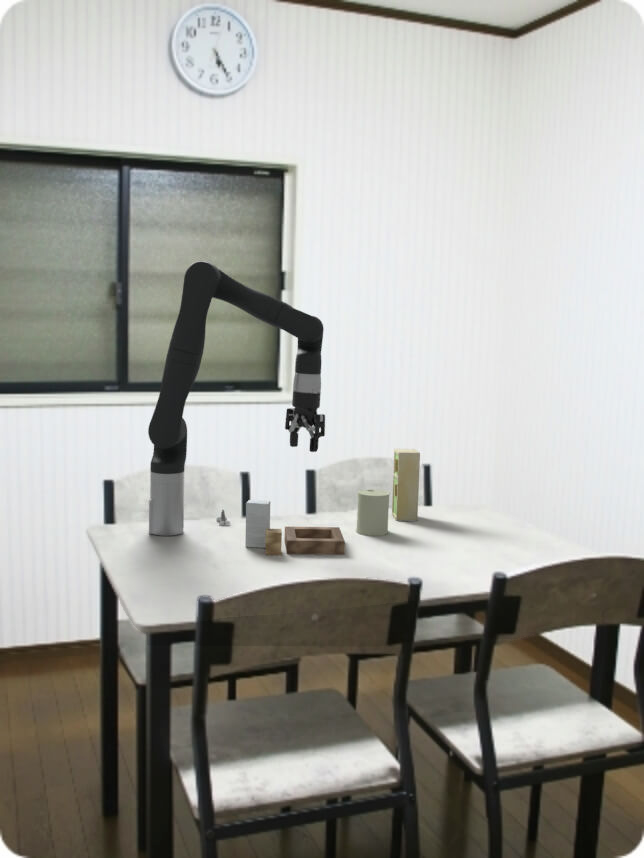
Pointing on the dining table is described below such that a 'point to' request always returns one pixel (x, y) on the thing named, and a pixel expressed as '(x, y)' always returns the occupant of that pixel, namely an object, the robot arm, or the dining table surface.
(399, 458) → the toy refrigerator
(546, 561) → the dining table surface
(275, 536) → the short oak peg
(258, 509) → the skincare box
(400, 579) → the dining table surface
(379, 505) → the can
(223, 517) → the grey spired figurine
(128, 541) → the dining table surface
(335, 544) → the brown wooden square frame
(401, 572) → the dining table surface
